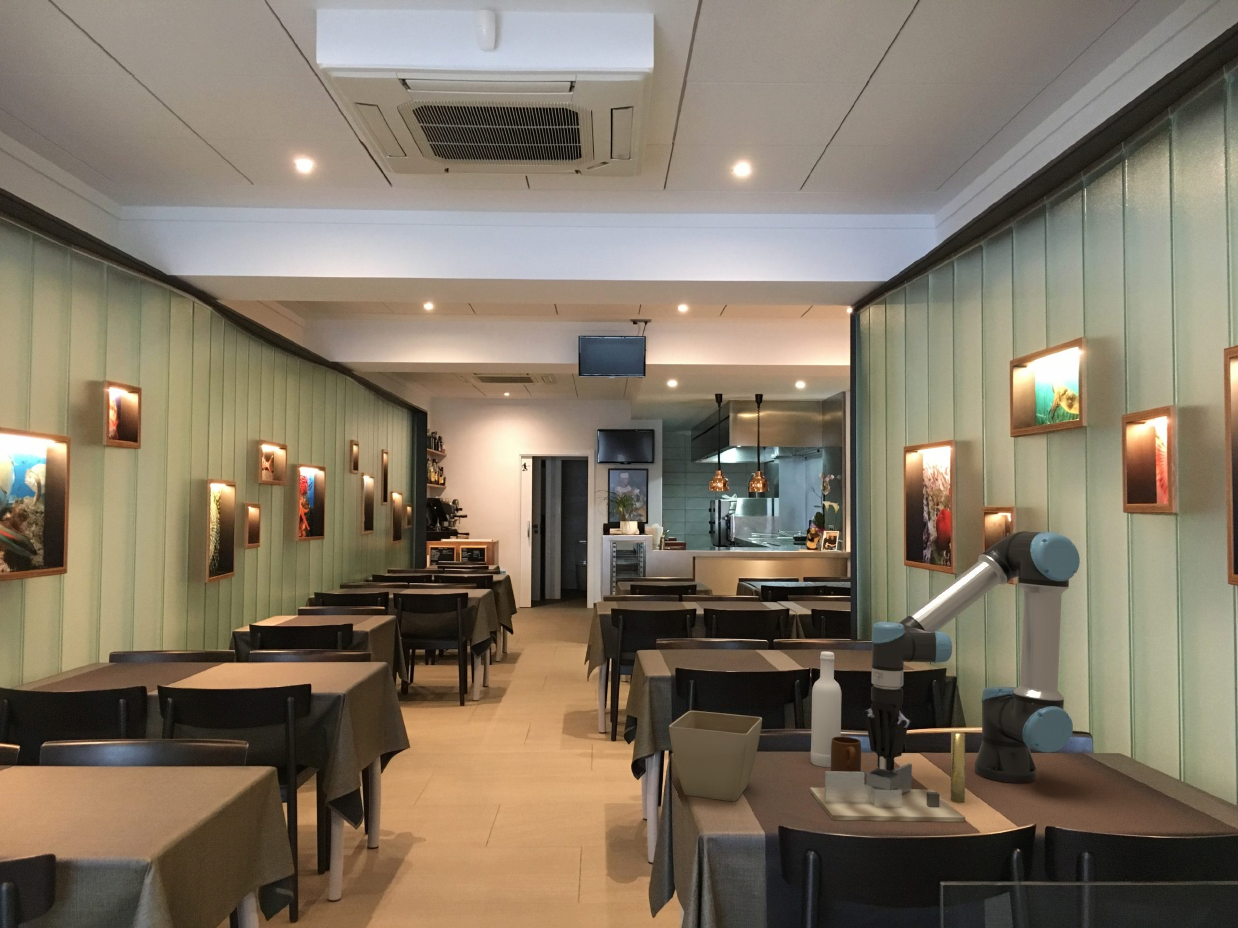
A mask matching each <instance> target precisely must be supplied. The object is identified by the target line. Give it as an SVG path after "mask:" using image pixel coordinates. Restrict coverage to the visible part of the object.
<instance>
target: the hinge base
mask: <svg viewBox="0 0 1238 928" xmlns="http://www.w3.org/2000/svg"><path fill="white" fill-rule="evenodd" d="M824 788H825V803H869V804H872V805H873V806H874V807H882V808H902V790H901V789H900V788H899V787H896V788H894V789H892V790H887V789H883V788H879V787H875V786H871V785H867V784H865V772H864V771H861V772H846V771H831V770H830V771H829V770H826V771H824ZM940 797H941V795H940V793H939V792H938V791H934V792H927V806H928V807H939V798H940Z"/></svg>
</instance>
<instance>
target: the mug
mask: <svg viewBox="0 0 1238 928" xmlns="http://www.w3.org/2000/svg"><path fill="white" fill-rule="evenodd" d="M830 771H846V772H862V742H861V740H860V739H858V738H855V737H851V736H841V737H834V738H832V743H831V767H830Z"/></svg>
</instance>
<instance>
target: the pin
mask: <svg viewBox="0 0 1238 928" xmlns="http://www.w3.org/2000/svg"><path fill="white" fill-rule="evenodd" d="M950 737H951V738H950V739H951V740H950V801H951V802H953V803H958V804H963V803H965V802H966V732H961V731H951V733H950Z"/></svg>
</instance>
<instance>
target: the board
mask: <svg viewBox="0 0 1238 928" xmlns="http://www.w3.org/2000/svg"><path fill="white" fill-rule="evenodd" d="M809 792H810V794H811V795H812V796H813V798H815V800H816V801H817V803H818V804H819V805H820V806H821V807H822V809H823V810H824V811H825V812H826V814H827V815H828V816H829V818H830V819H831V820H832V821H872V822H873V821H877V822H880V821H881V822H882V821H883V822H884V821H885V822H888V821H889V822H933V823H934V822H939V823H940V822H944V823H947V822H948V823H949V822H950V823H966V819H967V818H966V816H965V815H963V814H962V813H961V812H959V811H958V810H957V809H956V808H954V806H952V805H951V804H950V803H949V802H947V801H946V800H945V799H944V798H942V797H941V796H940V798H939V807H928V806H927V792H935V791H934V790H932V789H928V788H926V789H919V788H917V789H915V788H914V789H913V788H912V790H910V791H908V792H906V793H904V794H902V808H882V807H874V806H873V805H872V804H869V803H825V787H810V788H809Z"/></svg>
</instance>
